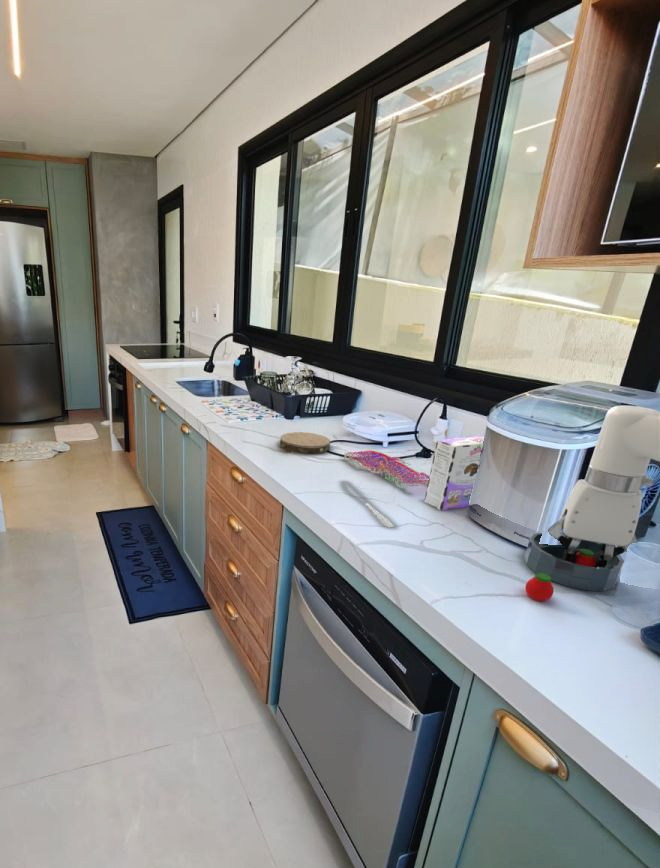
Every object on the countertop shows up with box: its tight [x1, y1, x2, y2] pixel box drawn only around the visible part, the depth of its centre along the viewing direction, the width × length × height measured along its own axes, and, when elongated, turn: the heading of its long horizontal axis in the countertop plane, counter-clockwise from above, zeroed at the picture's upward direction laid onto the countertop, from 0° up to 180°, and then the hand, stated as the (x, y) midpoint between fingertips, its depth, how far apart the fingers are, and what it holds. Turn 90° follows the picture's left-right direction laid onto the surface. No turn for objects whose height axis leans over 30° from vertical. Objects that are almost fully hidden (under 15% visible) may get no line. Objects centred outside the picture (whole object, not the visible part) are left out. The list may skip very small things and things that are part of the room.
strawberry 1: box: [524, 573, 555, 602], centre depth 85 cm, size 4×4×4 cm
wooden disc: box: [279, 431, 331, 455], centre depth 163 cm, size 16×16×3 cm
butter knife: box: [364, 502, 395, 528], centre depth 122 cm, size 1×27×3 cm
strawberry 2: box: [575, 549, 596, 567], centre depth 92 cm, size 4×4×5 cm
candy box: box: [424, 435, 485, 511], centre depth 120 cm, size 14×6×16 cm, turn 111°
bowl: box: [523, 532, 625, 592], centre depth 94 cm, size 14×14×5 cm
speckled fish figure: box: [343, 450, 430, 493], centre depth 140 cm, size 30×15×5 cm, turn 13°
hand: (580, 571), depth 92 cm, fingers closed on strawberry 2, 3 cm apart
